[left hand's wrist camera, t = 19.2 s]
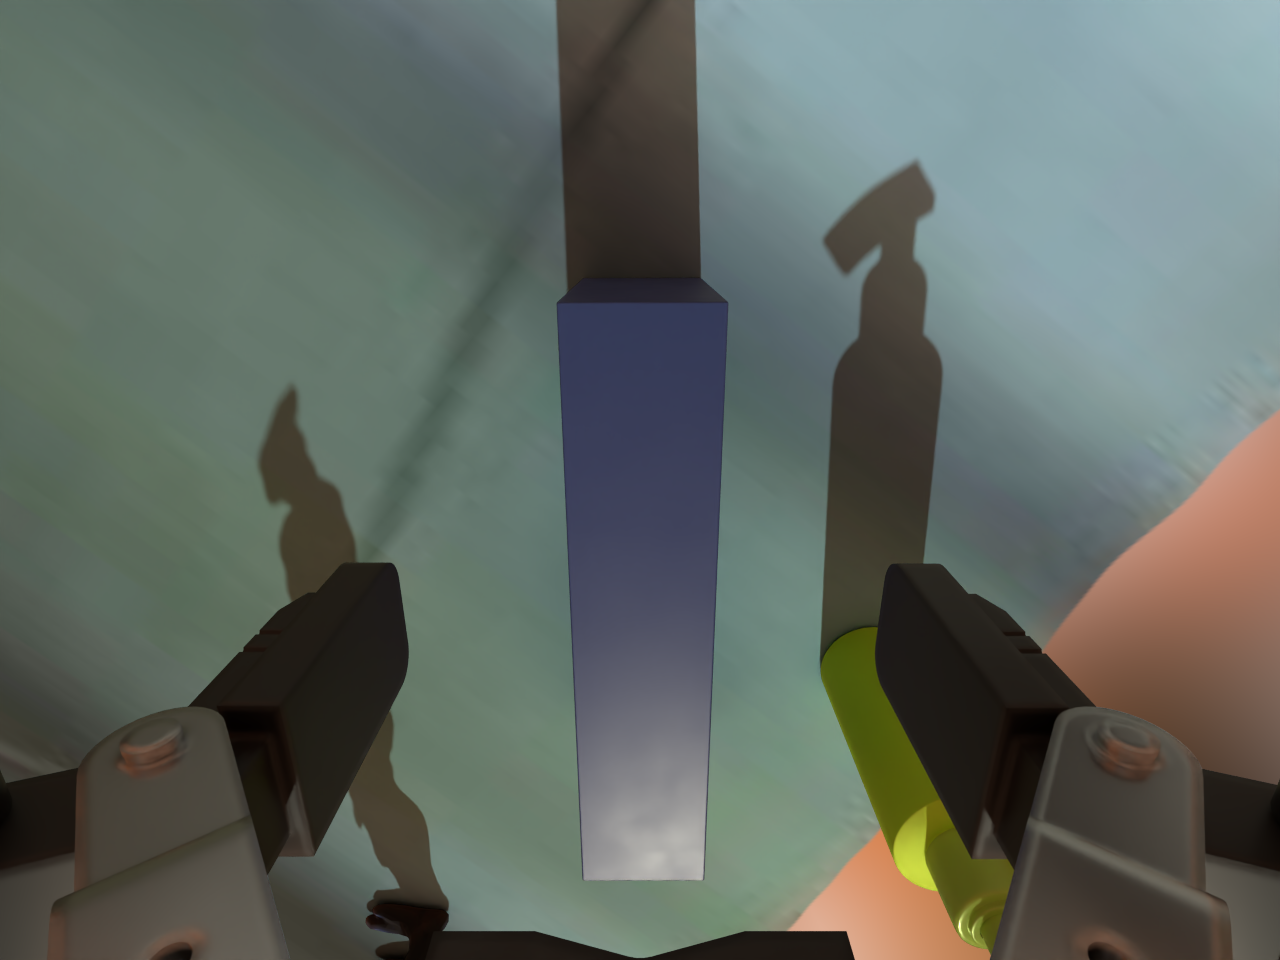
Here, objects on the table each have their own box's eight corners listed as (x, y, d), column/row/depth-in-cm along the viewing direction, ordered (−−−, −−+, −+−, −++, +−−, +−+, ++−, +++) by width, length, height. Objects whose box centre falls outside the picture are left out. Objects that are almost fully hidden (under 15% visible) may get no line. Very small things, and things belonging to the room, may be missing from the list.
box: (582, 278, 34) (556, 302, 24) (701, 277, 34) (728, 301, 24) (596, 722, 44) (582, 881, 34) (688, 722, 44) (704, 880, 34)
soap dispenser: (788, 667, 43) (905, 1014, 24) (885, 610, 41) (1090, 932, 22) (837, 727, 44) (981, 1097, 25) (931, 674, 43) (1158, 1025, 24)
